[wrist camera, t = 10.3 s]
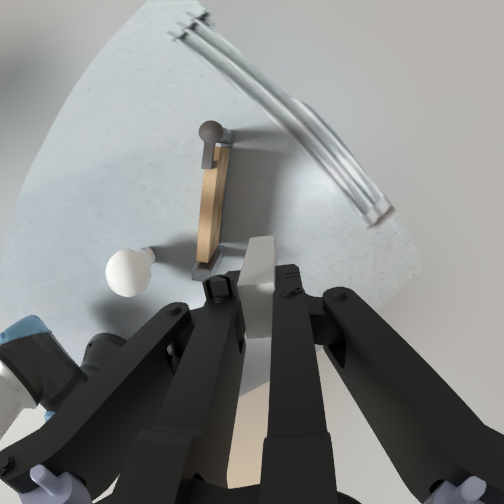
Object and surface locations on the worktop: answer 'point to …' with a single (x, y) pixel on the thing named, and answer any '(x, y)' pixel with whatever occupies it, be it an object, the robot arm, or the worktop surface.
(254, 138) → the worktop surface
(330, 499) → the robot arm
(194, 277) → the gate frame
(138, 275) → the light bulb
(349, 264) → the worktop surface
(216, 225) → the gate
